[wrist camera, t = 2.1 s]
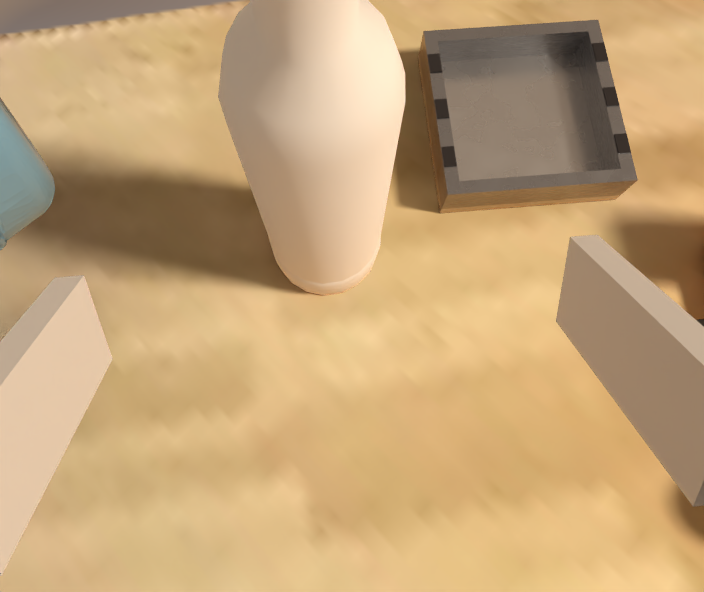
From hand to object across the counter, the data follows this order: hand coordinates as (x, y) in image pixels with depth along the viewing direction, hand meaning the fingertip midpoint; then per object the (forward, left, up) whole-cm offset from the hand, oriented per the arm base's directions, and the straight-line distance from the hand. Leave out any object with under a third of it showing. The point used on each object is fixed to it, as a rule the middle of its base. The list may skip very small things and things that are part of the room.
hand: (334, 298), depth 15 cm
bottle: (0, +10, -25) cm, 27 cm away
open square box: (+16, +19, -24) cm, 35 cm away
